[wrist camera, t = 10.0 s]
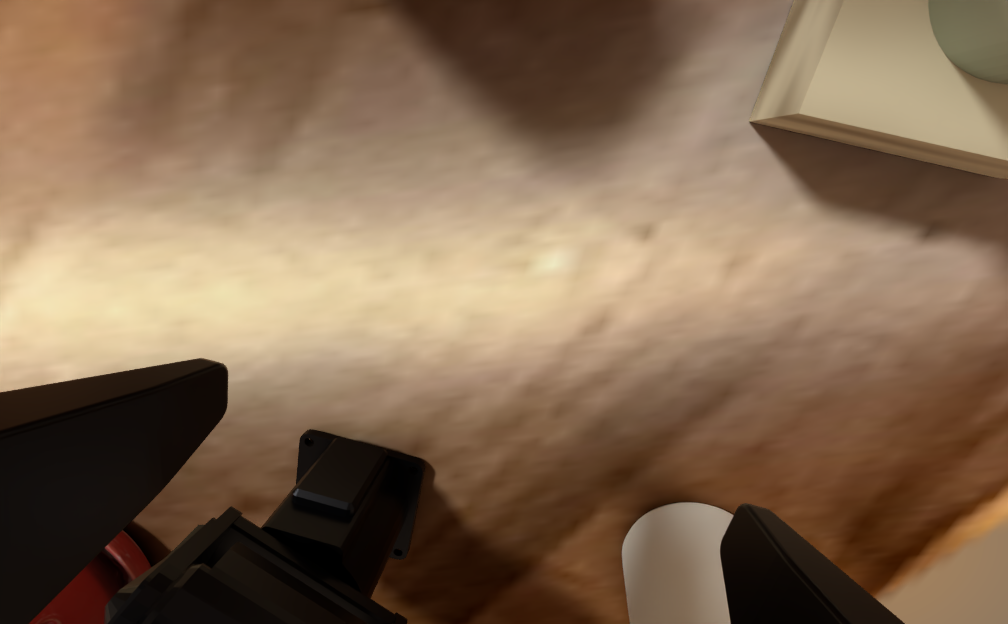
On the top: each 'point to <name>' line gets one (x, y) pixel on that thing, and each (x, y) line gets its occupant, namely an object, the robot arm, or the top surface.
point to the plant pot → (96, 584)
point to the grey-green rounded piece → (973, 35)
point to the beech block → (882, 86)
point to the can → (676, 565)
